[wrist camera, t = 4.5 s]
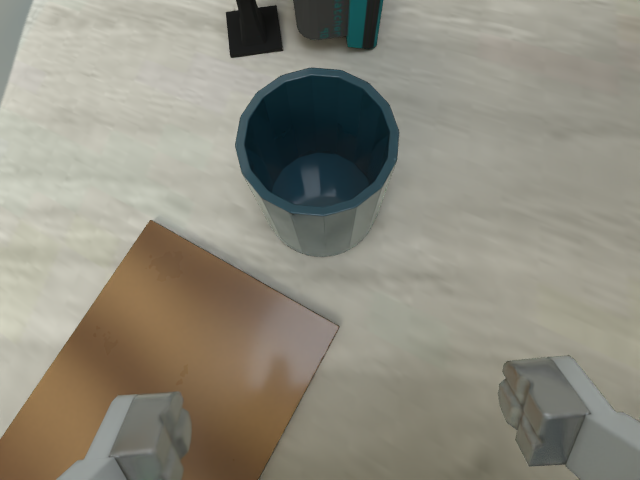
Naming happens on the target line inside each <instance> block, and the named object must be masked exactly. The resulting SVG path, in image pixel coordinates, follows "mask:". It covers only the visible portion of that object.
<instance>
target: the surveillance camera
mask: <svg viewBox="0 0 640 480" xmlns="http://www.w3.org/2000/svg"><path fill="white" fill-rule="evenodd" d="M236 1H237V5H238V11H231V12H226V18H227V28H228V38H229V49H230V56H231V58H232V57H239V56H246V55H254V54H261V53H268V52H275V51H283V49H282V42H281V35H280V27H279V20H278V13H277V6H276V5H275V6H268V7H260V8H258V6H257V4H256V0H236ZM293 3H294V9H295V16H296V22H297V28H298V30H299V32H300V33H301V34H302V35H303V36H304V37H306V38H309V39H314V40H319V39H327V38H334V37H341V36H346V39H347V45H348V47H354V48H364V49H372V48H374V47H375V46H376V45H377V38H378V32H379V25H380V19H381V12H382V6H383V0H293Z"/></svg>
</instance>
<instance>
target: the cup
mask: <svg viewBox="0 0 640 480" xmlns="http://www.w3.org/2000/svg"><path fill="white" fill-rule="evenodd" d="M398 142H399V129H398V126H397V124H396V121H395V118H394V116H393V113H392V110H391V108H390V105H389V104H388V102H387V101H386V100H385V99H384V98H383V97H382V96H381V95H380V94H379V93H378V92H377V91H376V90H375V89H374V88H373V87H372V86H371V85H370V84H369V83H368V82H366V81H364V80H362V79H360V78H357V77H355V76H353V75H351V74H349V73H347V72H344V71H342V70H334V69H322V68H307V69H304V70H300V71H296V72H292V73H288V74H285V75H282V76H280V77H278V78H277V79H275V80H274V81H273V82H271V83H270V84H268V85H267V86H265V87H264V88H262V89H261V90H260V91H258V92H257V93H256V94H255V96H254V97H253V99H252V100H251V102H250V103H249V105H248V106H247V108H246V109H245V111H244V112H243V114H242V115H241V117H240V121H239V126H238V132H237V137H236V143H235V148H236V152H237V156H238V160H239V164H240V168H241V172H242V174H243V176H244V178H245V180H246V182H247V184H248V186H249V188H250V189H251V191H252V193H253V195H254V197H255V199H256V201H257V203H258V205H259V206H260V208H261V210H262V212H263V214H264V216H265V218H266V220H267V222H268V223H269V225H270V227H271V228H272V229H273V231H274V232H275V234H276V235H277V236H278V237H279V239H280V240H281V241H282V242H283V243H285V244H286V245H287V246H288V247H290V248H292V249H293V250H295V251H297V252H299V253H302V254H305V255H309V256H315V257H327V256H333V255H338V254H341V253H343V252H346V251H348V250H350V249H351V248H353V247H354V246H356V245H357V244H358V243H359V242H361V241H362V240H363V239H364V237H365V236H366V235H367V234H368V232H369V231H370V229H371V227H372V225H373V223H374V221H375V219H376V217H377V215H378V212H379V209H380V207H381V204H382V201H383V198H384V196H385V193H386V190H387V187H388V184H389V182H390V179H391V176H392V173H393V170H394V168H395V165H396V162H397V156H398Z"/></svg>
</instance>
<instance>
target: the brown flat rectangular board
mask: <svg viewBox="0 0 640 480" xmlns="http://www.w3.org/2000/svg"><path fill="white" fill-rule="evenodd" d="M338 329H339V326H338V325H336V324H334V323H333V322H331V321H329V320H327V319H326V318H324V317H322V316H320V315H319V314H317V313H315V312H313V311H311V310H310V309H308V308H306V307H304V306H303V305H301V304H299V303H297V302H295V301H294V300H292V299H290V298H288V297H287V296H285V295H283V294H281V293H280V292H278V291H276V290H274V289H272V288H271V287H269V286H267V285H265V284H264V283H262V282H260V281H258V280H256V279H255V278H253V277H251V276H249V275H248V274H246V273H244V272H242V271H241V270H239V269H237V268H235V267H233V266H232V265H230V264H228V263H226V262H225V261H223V260H221V259H219V258H217V257H216V256H214V255H212V254H210V253H209V252H207V251H205V250H203V249H202V248H200V247H198V246H196V245H194V244H193V243H191V242H189V241H187V240H186V239H184V238H182V237H180V236H178V235H177V234H175V233H173V232H171V231H170V230H168V229H166V228H164V227H163V226H161V225H159V224H157V223H155V222H154V221H152V220H150V221H149V223H148V224H147V225H146V227H145V228H144V230H143V231H142V233H141V234H140V236H139V237H138V239H137V240H136V242H135V243H134V244H133V246H132V247H131V249H130V250H129V252H128V253H127V255H126V256H125V258H124V259H123V261H122V262H121V263H120V265H119V266H118V268H117V269H116V271H115V272H114V274H113V275H112V277H111V278H110V280H109V281H108V283H107V284H106V285H105V287H104V288H103V290H102V291H101V293H100V294H99V296H98V297H97V299H96V300H95V302H94V303H93V304H92V306H91V307H90V309H89V310H88V312H87V313H86V315H85V316H84V318H83V319H82V321H81V322H80V323H79V325H78V326H77V328H76V329H75V331H74V332H73V334H72V335H71V337H70V338H69V340H68V341H67V342H66V344H65V345H64V347H63V348H62V350H61V351H60V353H59V354H58V356H57V357H56V359H55V360H54V362H53V363H52V364H51V366H50V367H49V369H48V370H47V372H46V373H45V375H44V376H43V378H42V379H41V381H40V382H39V383H38V385H37V386H36V388H35V389H34V391H33V392H32V394H31V395H30V397H29V398H28V400H27V401H26V402H25V404H24V405H23V407H22V408H21V410H20V411H19V413H18V414H17V416H16V417H15V419H14V420H13V422H12V423H11V424H10V426H9V427H8V429H7V430H6V432H5V433H4V435H3V436H2V438H1V439H0V480H56V479H57V478H58V477H59V476H61V475H62V474H63V473H64V472H65V471H66V470H67V469H68V468H69V467H71V466H72V465H73V464H74V463H75V462H76V461H77V460H84V458H85V456H86V454H87V452H88V450H89V448H90V446H91V444H92V442H93V439H94V437H95V435H96V433H97V431H98V429H99V427H100V425H101V423H102V421H103V419H104V417H105V415H106V413H107V410H108V408H109V406H110V404H111V402H112V401H113V400H114V399H115V398H116V397H117V396H118V395H131V394H144V393H160V392H176V391H177V392H181V395H182V397H183V399H184V402H183V405H182V408H183V409H185V410H187V411H188V412H189V414H190V417H191V423H192V437H191V443H190V447H189V451H188V452H187V453H186V454H185V456H184V457H183V458H182V459H181V460H180V461H181V463H182V465H183V468H184V471H183V475H182V479H181V480H258V479H259V477H260V475H261V473H262V471H263V470H264V468H265V466H266V464H267V462H268V460H269V458H270V456H271V455H272V453H273V451H274V449H275V447H276V445H277V443H278V441H279V440H280V438H281V436H282V434H283V432H284V430H285V428H286V426H287V425H288V423H289V421H290V419H291V417H292V415H293V413H294V411H295V410H296V408H297V406H298V404H299V402H300V400H301V398H302V396H303V395H304V393H305V391H306V389H307V387H308V385H309V383H310V381H311V380H312V378H313V376H314V374H315V372H316V370H317V368H318V366H319V365H320V363H321V361H322V359H323V357H324V355H325V353H326V351H327V350H328V348H329V346H330V344H331V342H332V340H333V338H334V336H335V334H336V333H337V331H338Z"/></svg>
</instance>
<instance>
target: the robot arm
mask: <svg viewBox="0 0 640 480" xmlns="http://www.w3.org/2000/svg"><path fill="white" fill-rule="evenodd" d="M502 372H503V374H504V376H505V379H504V380H503V381H502V382H501V383H500V384H499V390H498V397H499V404H500V407H501V411H502V413H503V416H504V418H505V420H506V422H507V423H508V424H509V425H511V426H512V427H513V428H515V429H516V430H517V435H516V439H515V440H516V442H517V444H518V446H519V448H520V450H521V452H522V454H523V456H524V458H525V460H526V462H527V464H528V466H545V465H562V464H566V467H567V468H568V469H569V470H570V471H571V472H573V473H574V474H575V475H576V476H577V477H578V478H579V479H581V480H640V422H639V421H637V420H636V419H634V418H632V417H631V416H629V415H627V414H626V413H624V412H616V411H615V410H614V409H613V408H612V406H611V405H610V404H609V402H608V401H607V400H606V399H605V397H604V396H603V395H602V394H601V392H600V391H599V390H598V389H597V387H596V386H595V385H594V383H593V382H592V381H591V380H590V378H589V377H588V376H587V375H586V373H585V372H584V371H583V370H582V368H581V367H580V366H579V364H578V363H577V362H576V361H575V359H574V358H572V357H571V356H569V355H567V356H556V357H547V358H546V357H541V358H532V359H522V360H512V361H507V362H506V363H505V364H504V366H503V370H502ZM183 402H184V399H183V397H182V395H181V392H177V391H176V392H160V393H144V394H131V395H118V396H117V397H116V398H115V399H114V400H113V401H112V402H111V404H110V406H109V408H108V410H107V413H106V415H105V417H104V419H103V421H102V423H101V425H100V427H99V429H98V431H97V433H96V435H95V437H94V439H93V442H92V444H91V446H90V448H89V450H88V452H87V454H86V456H85V458H84V460H77V461H76V462H75V463H74V464H73V465H72V466H71V467H69V468H68V469H67V470H66V471H65V472H64V473H63V474H62V475H61V476H59V477H58V478H57V479H56V480H181V479H182V475H183V471H184V468H183V465H182V463H181V461H180V460H181V459H182V458H183V457H184V456H185V454H186V453H187V452H188V451H189V447H190V443H191V437H192V423H191V417H190V414H189V412H188V411H187V410H185V409H183V408H182V405H183Z"/></svg>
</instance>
